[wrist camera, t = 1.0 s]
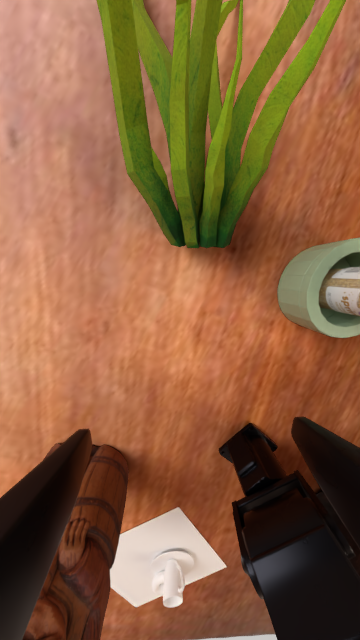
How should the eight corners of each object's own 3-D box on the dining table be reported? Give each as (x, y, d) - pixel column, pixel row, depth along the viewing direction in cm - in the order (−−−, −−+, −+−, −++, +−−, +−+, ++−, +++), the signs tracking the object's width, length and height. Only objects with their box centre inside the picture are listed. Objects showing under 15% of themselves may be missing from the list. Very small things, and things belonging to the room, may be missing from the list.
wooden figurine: (137, 447, 25) (71, 859, 7) (128, 481, 26) (55, 893, 9) (48, 436, 23) (-314, 932, 6) (43, 472, 24) (-257, 959, 7)
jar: (366, 286, 21) (417, 289, 17) (305, 340, 23) (339, 355, 18) (326, 226, 19) (373, 211, 15) (261, 288, 20) (287, 292, 16)
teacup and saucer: (159, 582, 33) (159, 623, 29) (137, 561, 31) (133, 603, 27) (201, 563, 32) (206, 603, 29) (181, 540, 30) (184, 580, 26)
